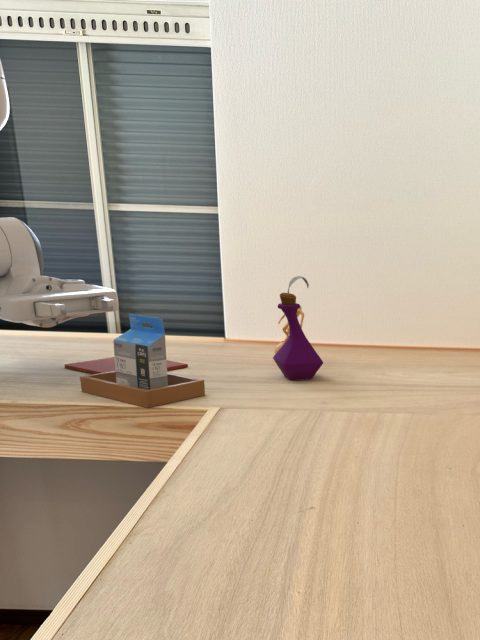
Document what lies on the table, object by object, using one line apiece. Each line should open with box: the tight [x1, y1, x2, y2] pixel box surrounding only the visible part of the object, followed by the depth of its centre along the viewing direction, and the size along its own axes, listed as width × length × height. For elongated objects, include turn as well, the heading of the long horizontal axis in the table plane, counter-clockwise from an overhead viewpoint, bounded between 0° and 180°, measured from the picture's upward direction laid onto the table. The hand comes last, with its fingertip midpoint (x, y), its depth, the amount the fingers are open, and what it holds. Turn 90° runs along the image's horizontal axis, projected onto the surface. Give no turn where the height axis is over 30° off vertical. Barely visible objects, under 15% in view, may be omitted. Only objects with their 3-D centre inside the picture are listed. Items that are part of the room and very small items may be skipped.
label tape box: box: [113, 313, 168, 390], centre depth 117 cm, size 9×4×12 cm, turn 55°
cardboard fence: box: [79, 371, 206, 409], centre depth 119 cm, size 12×17×2 cm
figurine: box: [274, 305, 305, 355], centre depth 148 cm, size 8×6×12 cm
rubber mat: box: [64, 356, 189, 375], centre depth 139 cm, size 16×16×1 cm
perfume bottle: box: [272, 275, 324, 381], centre depth 132 cm, size 8×8×18 cm
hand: (87, 307), depth 122 cm, fingers open, 8 cm apart
